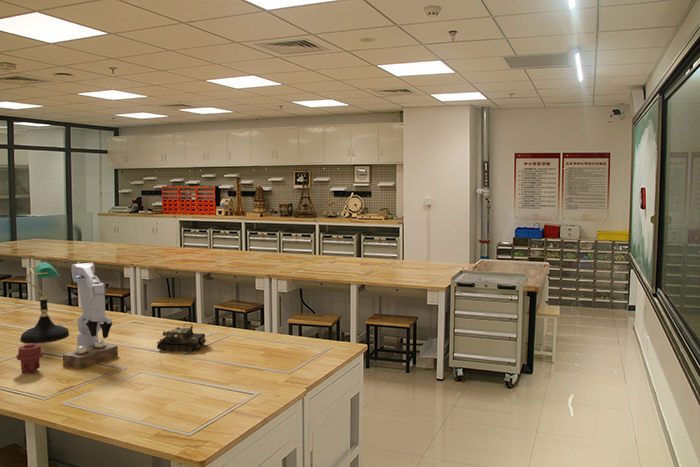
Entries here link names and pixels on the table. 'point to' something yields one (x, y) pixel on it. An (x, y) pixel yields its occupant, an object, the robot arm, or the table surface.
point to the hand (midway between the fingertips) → (99, 337)
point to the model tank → (181, 340)
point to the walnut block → (90, 356)
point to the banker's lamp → (44, 313)
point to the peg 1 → (81, 350)
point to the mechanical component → (29, 357)
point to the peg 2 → (99, 344)
